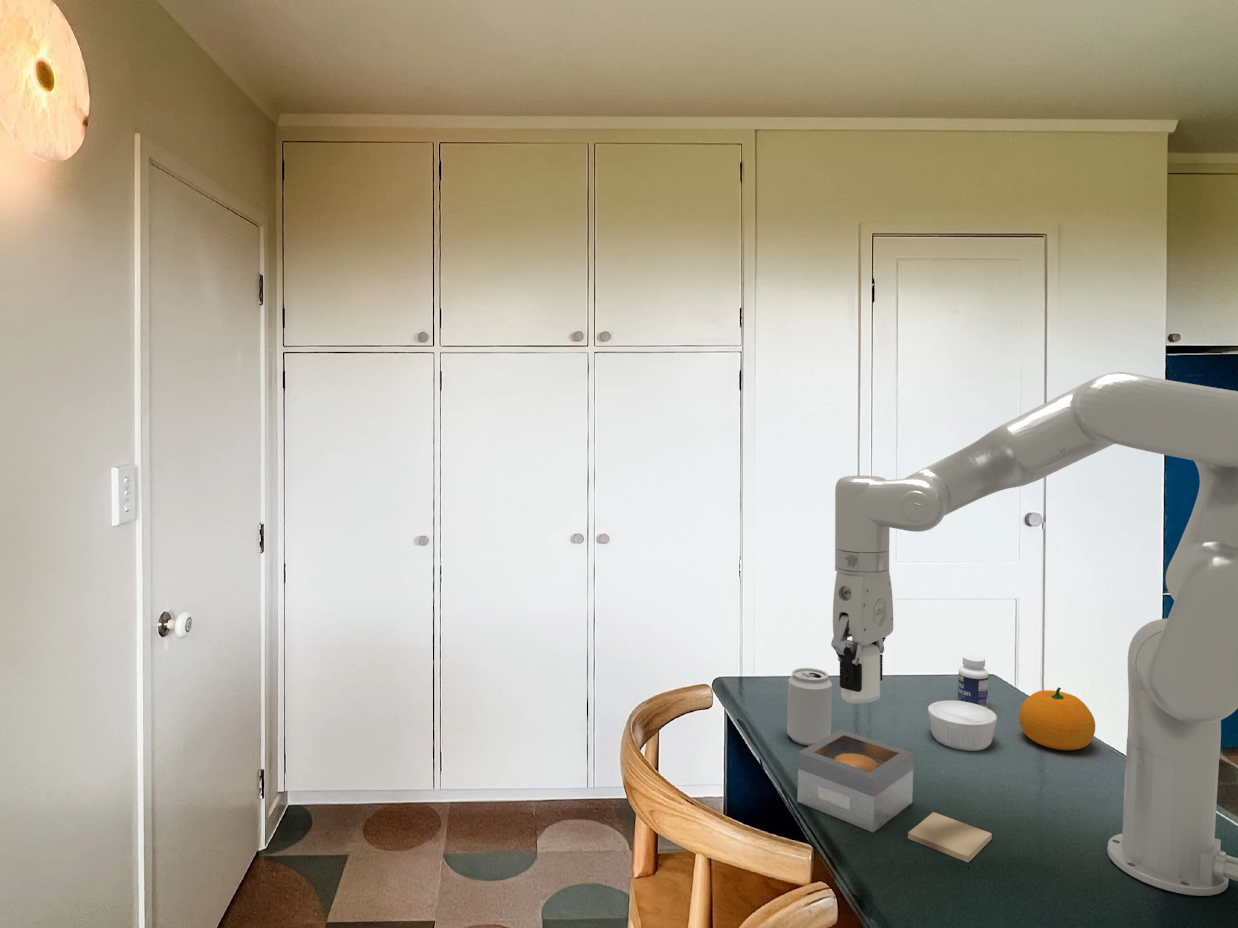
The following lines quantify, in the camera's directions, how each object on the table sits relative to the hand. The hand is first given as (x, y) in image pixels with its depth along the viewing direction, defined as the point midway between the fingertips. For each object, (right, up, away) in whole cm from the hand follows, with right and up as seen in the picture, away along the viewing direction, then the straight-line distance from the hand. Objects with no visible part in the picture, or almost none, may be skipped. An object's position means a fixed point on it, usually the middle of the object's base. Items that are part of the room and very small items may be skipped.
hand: (861, 682), depth 115 cm
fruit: (+41, -17, +23) cm, 50 cm away
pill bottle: (+34, -16, +40) cm, 55 cm away
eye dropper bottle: (0, -3, 0) cm, 3 cm away
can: (-2, -17, +24) cm, 29 cm away
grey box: (-1, -18, +1) cm, 18 cm away
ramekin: (+25, -17, +24) cm, 39 cm away
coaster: (+9, -19, -9) cm, 23 cm away
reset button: (-1, -17, +1) cm, 17 cm away
